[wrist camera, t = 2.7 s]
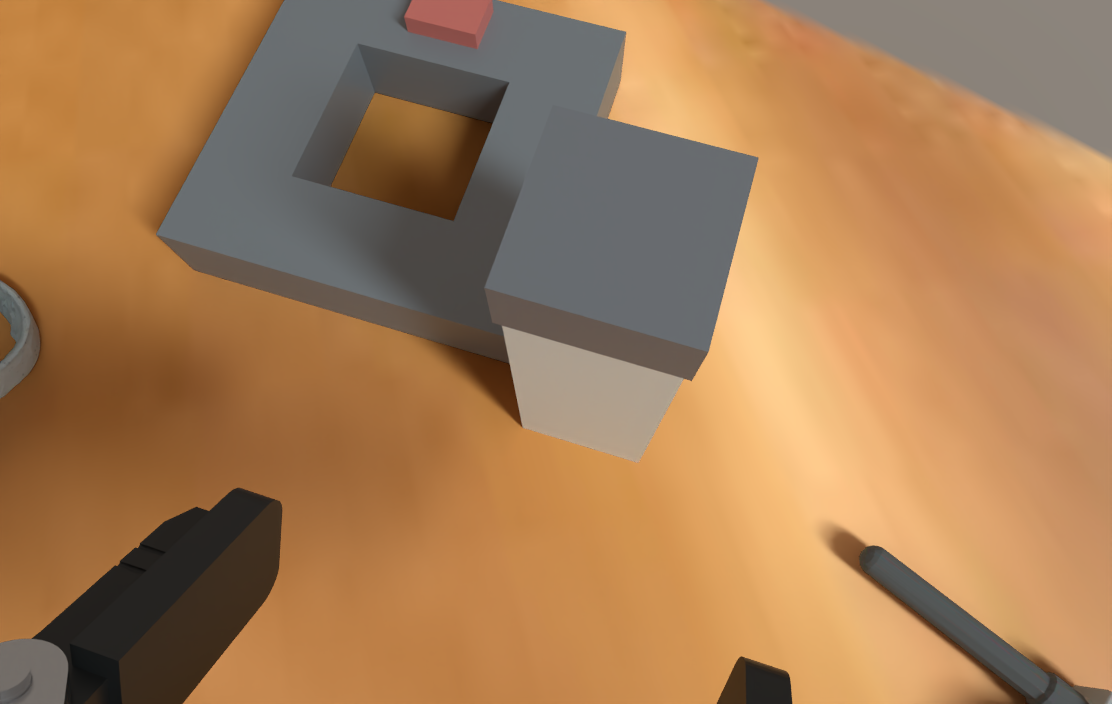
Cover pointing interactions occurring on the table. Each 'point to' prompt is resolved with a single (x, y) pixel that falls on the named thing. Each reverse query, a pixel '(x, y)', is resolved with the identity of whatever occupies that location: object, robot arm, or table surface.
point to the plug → (614, 275)
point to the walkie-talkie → (974, 634)
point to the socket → (329, 127)
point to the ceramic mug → (17, 340)
